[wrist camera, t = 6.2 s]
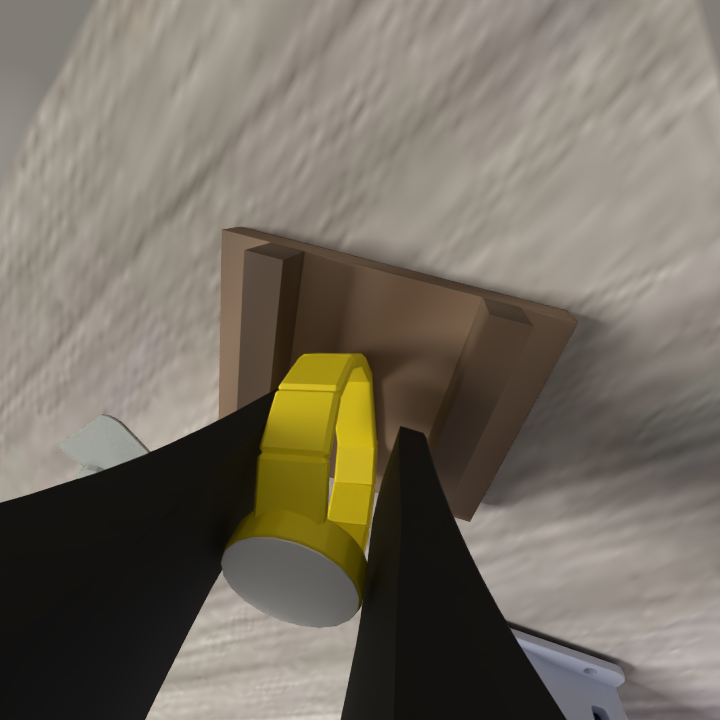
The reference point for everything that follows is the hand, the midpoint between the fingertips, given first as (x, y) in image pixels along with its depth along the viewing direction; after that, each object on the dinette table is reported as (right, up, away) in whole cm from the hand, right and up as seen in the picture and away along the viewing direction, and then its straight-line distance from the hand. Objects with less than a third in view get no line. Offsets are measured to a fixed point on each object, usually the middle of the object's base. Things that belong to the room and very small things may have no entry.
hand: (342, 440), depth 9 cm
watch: (0, +1, +3) cm, 3 cm away
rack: (+1, +1, +3) cm, 3 cm away
